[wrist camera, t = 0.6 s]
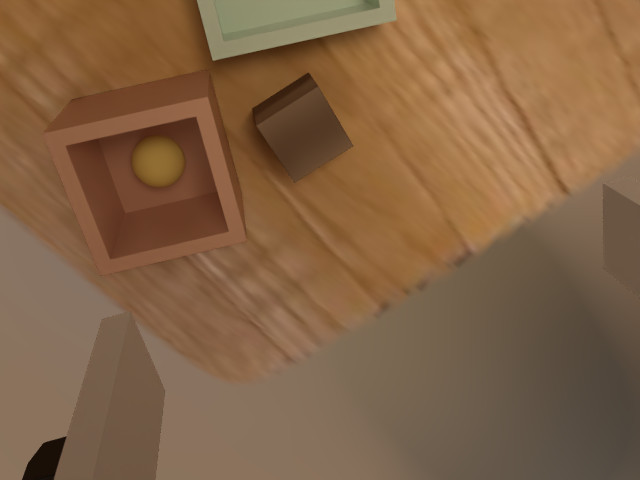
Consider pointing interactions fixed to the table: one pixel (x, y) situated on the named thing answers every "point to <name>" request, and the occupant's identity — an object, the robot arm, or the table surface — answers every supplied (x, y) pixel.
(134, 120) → the square terracotta box
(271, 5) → the green tray
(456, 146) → the table surface
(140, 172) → the yellow ball
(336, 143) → the walnut block
